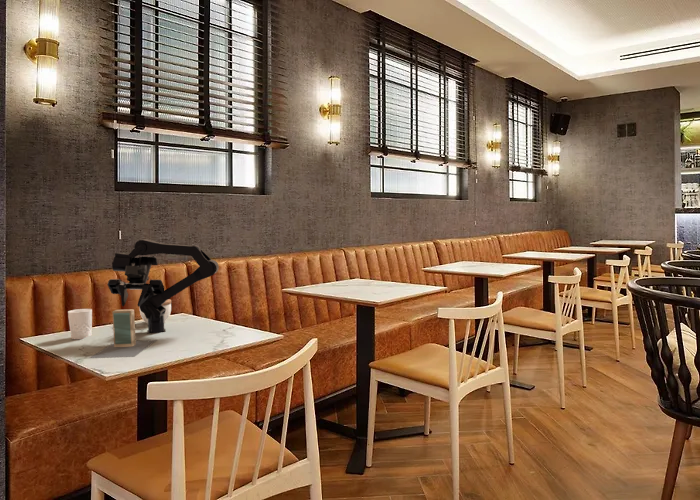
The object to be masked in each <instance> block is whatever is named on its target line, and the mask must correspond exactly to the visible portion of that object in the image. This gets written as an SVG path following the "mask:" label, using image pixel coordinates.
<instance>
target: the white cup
mask: <svg viewBox="0 0 700 500" xmlns="http://www.w3.org/2000/svg"><path fill="white" fill-rule="evenodd" d="M67 317H68V325H69V331H70V338H71V340H83V339H85V338H87V337H91V336H92V334H93V333H92V332H93V331H92V328H93V327H92V326H93V309H92V308H77V309H72V310H68V311H67Z"/></svg>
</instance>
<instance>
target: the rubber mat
mask: <svg viewBox="0 0 700 500" xmlns="http://www.w3.org/2000/svg"><path fill="white" fill-rule="evenodd" d="M156 341H158V340H157V339H152V340H151V339H148V340H147V339H146V340H145V339H144V340H136V345H134V346H132V347H114V342H113V343H112V344H110V345H107V346H106V347H104V349H101V350H100V351H98V352H95V354H93V355H91V356H90V357H89V359H105V358H107V359H109V358H110V359H111V358H134V357H136V356H138V355H139V354H140V353H142V352H143V351H144V350H146V349H147V348H148V347H150V346H151V345H153V344H155V342H156Z"/></svg>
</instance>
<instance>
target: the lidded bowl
mask: <svg viewBox="0 0 700 500" xmlns="http://www.w3.org/2000/svg"><path fill="white" fill-rule="evenodd" d="M162 306H163V307H164V308H165V309H166V311H165V314H163V315H164V324H166V321H167V320H168V319H169V318H170V315H171V312H172V299H171V298H169V299H168V300H167V301H166V302H165V303H163V304H162ZM138 308H139V314H140V317H141V318H142V320H143V321H144V322H145V323H146V324H147V325H148V319H147V318H146V316H145V314H144V313H143V312H142V311H141V310H140V306H139V307H138Z"/></svg>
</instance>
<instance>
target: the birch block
mask: <svg viewBox="0 0 700 500" xmlns="http://www.w3.org/2000/svg"><path fill="white" fill-rule="evenodd" d="M111 313H112V327H113V328H112V329H113V343H114V347H132V346H134V345H136V341H137V340H136V325H135V309H134V308H133V309H130V308H129V309H115V310H112V312H111Z"/></svg>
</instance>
